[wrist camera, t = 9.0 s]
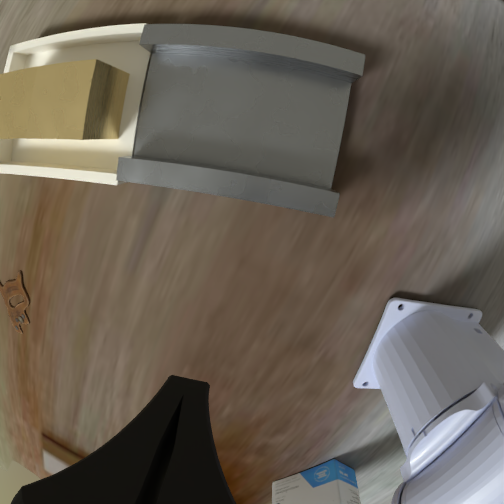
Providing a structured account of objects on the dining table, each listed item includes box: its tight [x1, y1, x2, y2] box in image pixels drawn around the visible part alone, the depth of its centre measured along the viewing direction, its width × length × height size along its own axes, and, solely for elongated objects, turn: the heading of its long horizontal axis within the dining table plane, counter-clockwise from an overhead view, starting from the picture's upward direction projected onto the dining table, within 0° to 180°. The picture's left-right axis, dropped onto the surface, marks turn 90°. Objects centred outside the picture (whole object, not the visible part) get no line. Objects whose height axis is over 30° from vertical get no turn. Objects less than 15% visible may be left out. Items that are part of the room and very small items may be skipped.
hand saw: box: [0, 270, 30, 334], centre depth 24 cm, size 24×5×1 cm, turn 5°
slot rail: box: [116, 24, 365, 217], centre depth 14 cm, size 11×8×3 cm
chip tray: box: [0, 23, 152, 185], centre depth 14 cm, size 11×9×2 cm
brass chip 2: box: [26, 59, 130, 140], centre depth 13 cm, size 4×4×4 cm
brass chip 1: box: [0, 66, 38, 139], centre depth 13 cm, size 4×4×4 cm
